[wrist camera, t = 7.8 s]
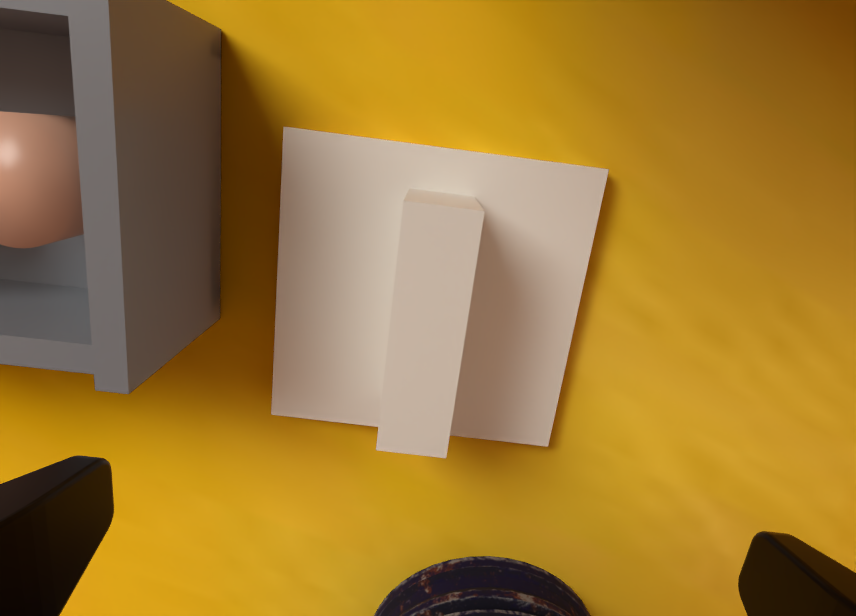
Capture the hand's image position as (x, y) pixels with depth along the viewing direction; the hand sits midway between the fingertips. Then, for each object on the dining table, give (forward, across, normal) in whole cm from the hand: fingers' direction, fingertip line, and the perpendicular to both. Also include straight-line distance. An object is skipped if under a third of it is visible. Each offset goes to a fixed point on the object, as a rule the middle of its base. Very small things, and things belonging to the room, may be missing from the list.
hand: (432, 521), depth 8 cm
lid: (+12, 0, 0) cm, 12 cm away
